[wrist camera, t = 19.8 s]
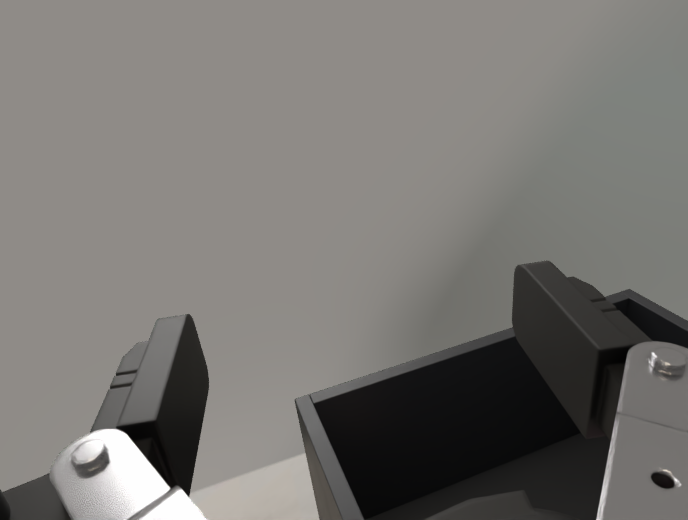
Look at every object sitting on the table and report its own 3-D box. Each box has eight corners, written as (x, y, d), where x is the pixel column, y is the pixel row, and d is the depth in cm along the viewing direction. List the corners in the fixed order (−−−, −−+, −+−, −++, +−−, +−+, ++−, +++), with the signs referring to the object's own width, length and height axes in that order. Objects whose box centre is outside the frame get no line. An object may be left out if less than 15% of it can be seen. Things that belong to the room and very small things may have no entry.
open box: (439, 868, 19) (426, 731, 14) (322, 531, 31) (294, 398, 27) (849, 619, 24) (941, 459, 19) (609, 416, 37) (629, 288, 32)
